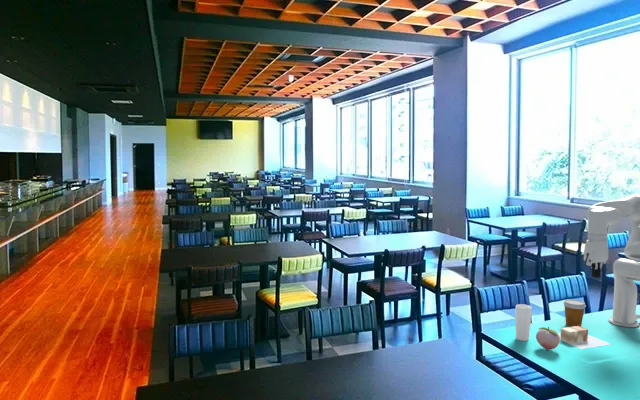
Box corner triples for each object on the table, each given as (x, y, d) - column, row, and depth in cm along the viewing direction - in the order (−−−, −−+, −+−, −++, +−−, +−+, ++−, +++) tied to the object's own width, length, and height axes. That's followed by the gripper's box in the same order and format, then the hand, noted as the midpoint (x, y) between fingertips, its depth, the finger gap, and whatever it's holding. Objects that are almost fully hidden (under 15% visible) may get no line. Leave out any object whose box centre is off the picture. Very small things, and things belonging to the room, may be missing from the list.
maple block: (578, 325, 224) (561, 328, 221) (588, 329, 220) (570, 332, 216) (578, 336, 225) (560, 339, 222) (587, 340, 220) (569, 343, 217)
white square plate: (577, 331, 233) (577, 330, 233) (611, 345, 216) (611, 344, 216) (548, 335, 228) (548, 334, 227) (580, 350, 211) (580, 349, 211)
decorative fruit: (564, 351, 210) (565, 327, 209) (552, 355, 205) (554, 331, 204) (543, 344, 217) (544, 321, 216) (531, 348, 213) (532, 325, 212)
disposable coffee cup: (588, 330, 235) (590, 305, 234) (568, 329, 235) (569, 304, 234) (578, 323, 244) (579, 299, 243) (558, 323, 245) (559, 298, 243)
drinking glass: (532, 339, 223) (534, 306, 222) (527, 343, 218) (528, 309, 217) (517, 335, 228) (518, 303, 226) (511, 339, 223) (512, 306, 221)
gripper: (602, 234, 231) (601, 273, 233) (577, 237, 226) (576, 277, 228) (617, 236, 224) (615, 277, 226) (591, 240, 219) (590, 281, 221)
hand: (596, 277), depth 227 cm, fingers closed
